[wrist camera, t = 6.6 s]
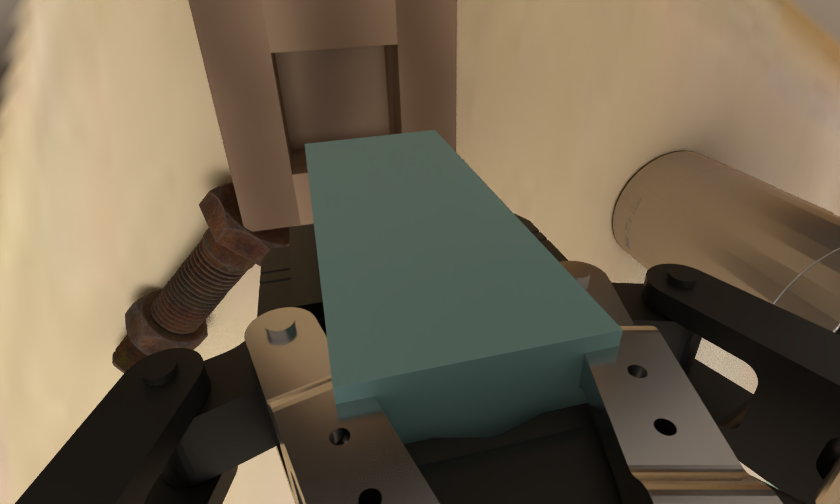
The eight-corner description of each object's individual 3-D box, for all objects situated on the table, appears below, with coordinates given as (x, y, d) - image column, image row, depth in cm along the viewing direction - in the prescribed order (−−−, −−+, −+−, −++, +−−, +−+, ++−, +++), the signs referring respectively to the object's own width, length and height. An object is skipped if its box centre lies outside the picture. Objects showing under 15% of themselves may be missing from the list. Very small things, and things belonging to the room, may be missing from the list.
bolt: (139, 323, 36) (254, 178, 31) (188, 371, 36) (310, 233, 31) (69, 358, 31) (196, 188, 26) (127, 415, 31) (264, 255, 26)
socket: (430, -30, 27) (457, -30, 23) (433, 174, 33) (455, 204, 29) (201, -21, 25) (184, -19, 21) (250, 196, 31) (245, 232, 27)
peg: (435, 129, 15) (622, 329, 7) (437, 241, 17) (584, 502, 9) (304, 143, 14) (332, 388, 6) (323, 259, 16) (363, 561, 8)
